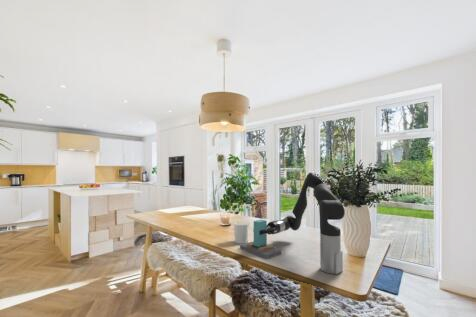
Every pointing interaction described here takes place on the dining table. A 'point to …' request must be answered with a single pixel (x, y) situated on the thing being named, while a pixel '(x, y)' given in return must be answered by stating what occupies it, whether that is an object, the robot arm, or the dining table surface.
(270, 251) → the display stand
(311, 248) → the dining table surface
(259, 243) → the long teal prism
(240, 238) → the candle holder
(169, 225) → the dining table surface
